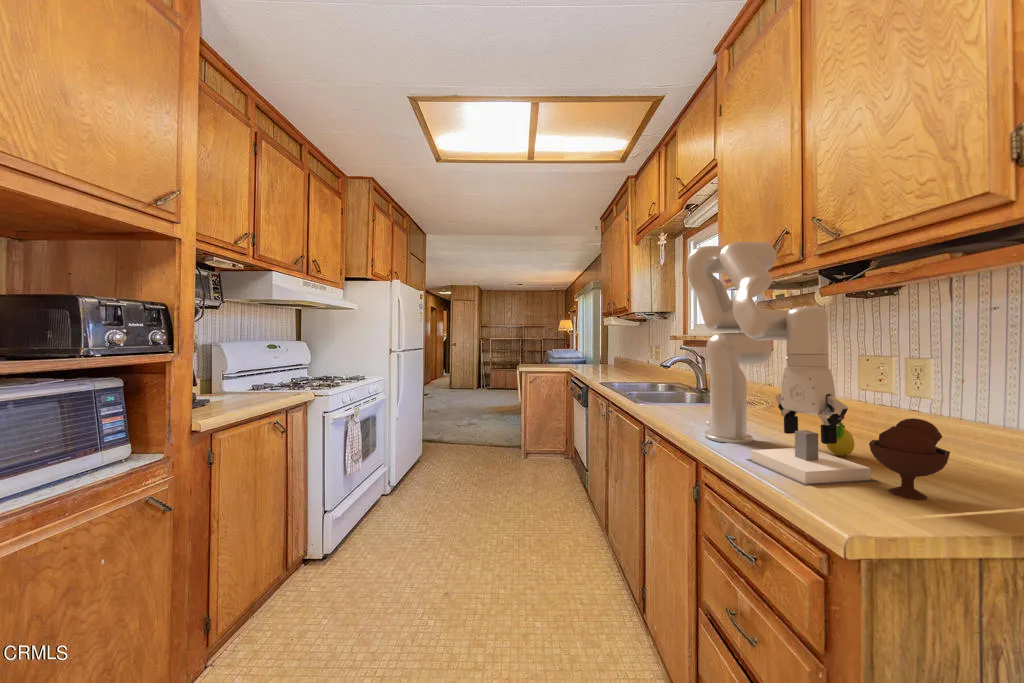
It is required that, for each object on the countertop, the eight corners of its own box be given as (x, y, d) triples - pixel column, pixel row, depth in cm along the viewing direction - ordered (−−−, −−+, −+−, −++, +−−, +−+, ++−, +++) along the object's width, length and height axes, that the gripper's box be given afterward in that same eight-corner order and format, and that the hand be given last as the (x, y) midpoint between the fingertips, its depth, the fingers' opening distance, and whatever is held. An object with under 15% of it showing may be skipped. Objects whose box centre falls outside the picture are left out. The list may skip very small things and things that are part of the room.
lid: (751, 460, 95) (751, 425, 95) (807, 457, 97) (807, 423, 97) (805, 483, 80) (805, 442, 80) (870, 479, 82) (870, 439, 82)
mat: (745, 460, 96) (745, 459, 96) (807, 457, 98) (807, 456, 98) (805, 487, 79) (805, 485, 79) (878, 483, 81) (878, 481, 81)
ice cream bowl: (887, 482, 81) (887, 410, 81) (964, 503, 71) (964, 421, 71) (856, 489, 78) (856, 415, 77) (932, 513, 67) (933, 427, 67)
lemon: (840, 452, 102) (841, 414, 101) (863, 459, 96) (863, 419, 96) (817, 453, 101) (817, 415, 101) (838, 461, 95) (838, 420, 95)
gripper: (763, 361, 96) (764, 430, 96) (827, 364, 79) (829, 448, 79) (790, 360, 97) (792, 429, 97) (860, 363, 80) (862, 447, 79)
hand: (809, 438), depth 88 cm, fingers open, 9 cm apart
